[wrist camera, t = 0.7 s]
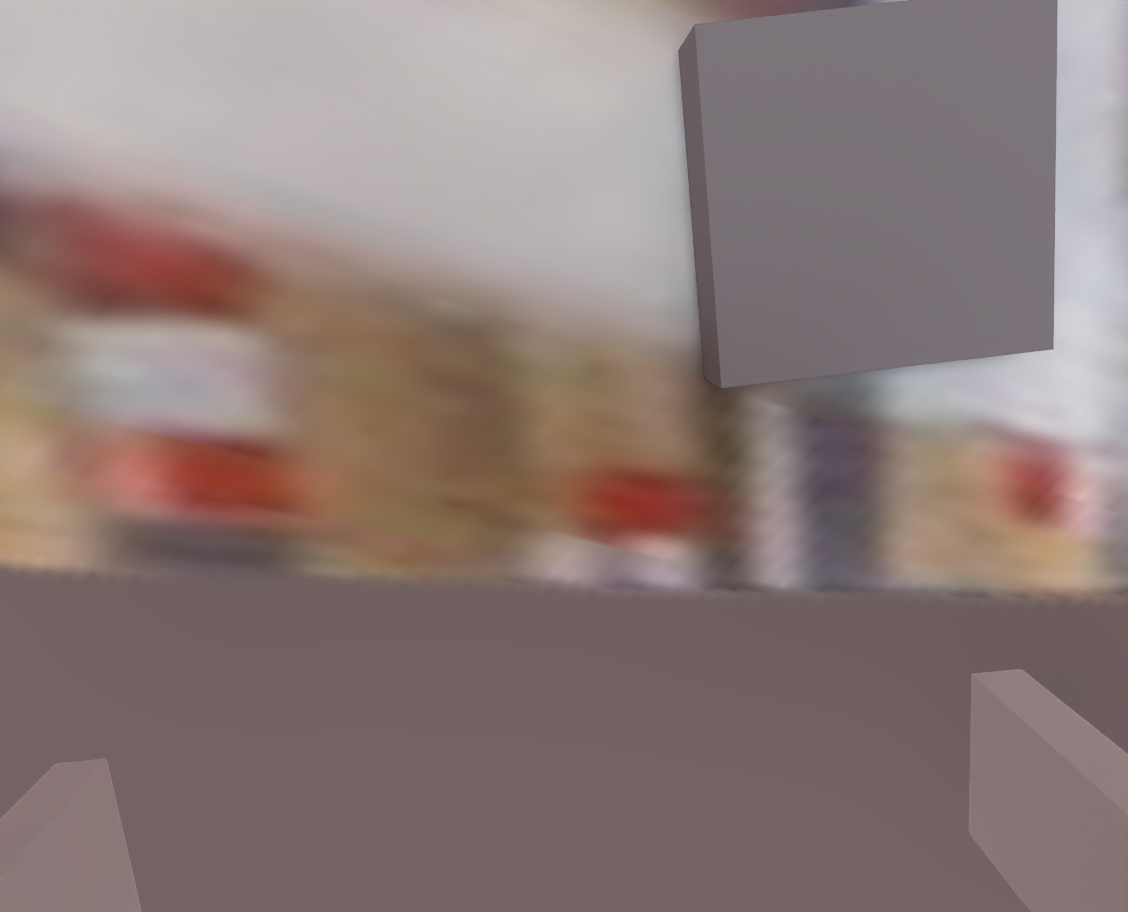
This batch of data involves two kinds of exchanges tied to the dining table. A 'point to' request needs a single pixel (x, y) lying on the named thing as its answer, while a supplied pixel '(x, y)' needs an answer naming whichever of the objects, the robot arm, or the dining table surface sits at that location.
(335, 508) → the dining table surface
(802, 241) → the block
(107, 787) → the robot arm
